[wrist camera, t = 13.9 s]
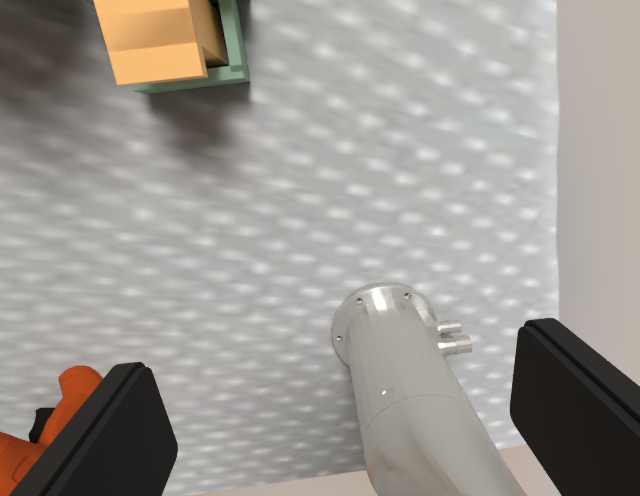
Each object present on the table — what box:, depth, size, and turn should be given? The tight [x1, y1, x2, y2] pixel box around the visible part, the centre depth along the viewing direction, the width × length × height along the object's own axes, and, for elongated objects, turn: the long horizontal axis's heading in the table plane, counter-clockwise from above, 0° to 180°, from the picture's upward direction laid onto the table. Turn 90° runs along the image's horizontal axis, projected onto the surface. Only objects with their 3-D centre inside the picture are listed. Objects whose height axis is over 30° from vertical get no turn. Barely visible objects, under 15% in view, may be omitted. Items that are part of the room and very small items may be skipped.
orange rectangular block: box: [93, 0, 228, 87], centre depth 27 cm, size 6×6×9 cm
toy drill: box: [0, 366, 103, 496], centre depth 35 cm, size 5×19×15 cm, turn 19°
